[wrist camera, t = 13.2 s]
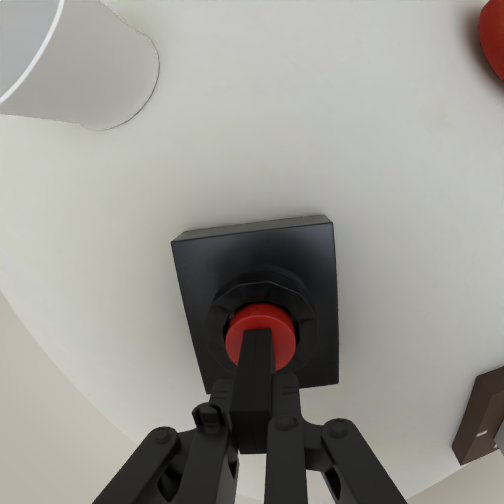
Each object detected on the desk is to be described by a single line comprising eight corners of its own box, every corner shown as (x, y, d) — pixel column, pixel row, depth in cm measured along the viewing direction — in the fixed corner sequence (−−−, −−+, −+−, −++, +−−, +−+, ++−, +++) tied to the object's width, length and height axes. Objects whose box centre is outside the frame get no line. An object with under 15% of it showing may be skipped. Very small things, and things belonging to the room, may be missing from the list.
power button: (296, 355, 19) (297, 370, 18) (234, 360, 20) (231, 376, 18) (291, 298, 18) (293, 311, 17) (224, 305, 19) (219, 318, 17)
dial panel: (508, 423, 26) (519, 439, 23) (451, 447, 27) (460, 466, 24) (535, 352, 23) (552, 367, 20) (476, 376, 24) (492, 396, 21)
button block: (332, 360, 24) (342, 399, 20) (212, 371, 25) (201, 410, 21) (324, 214, 21) (339, 227, 17) (183, 231, 22) (160, 248, 18)
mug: (38, 147, 21) (-72, 152, 10) (42, 58, 19) (-55, 30, 8) (160, 119, 20) (58, 83, 9) (160, 19, 18) (84, -64, 7)
